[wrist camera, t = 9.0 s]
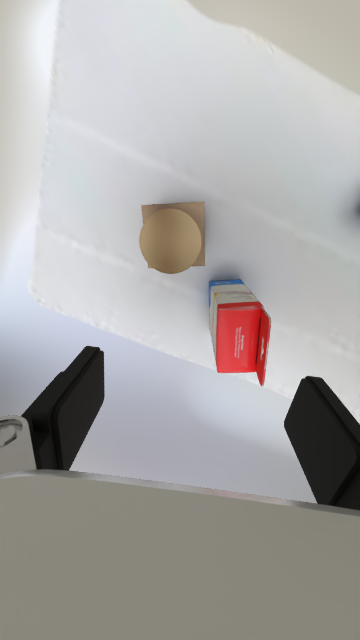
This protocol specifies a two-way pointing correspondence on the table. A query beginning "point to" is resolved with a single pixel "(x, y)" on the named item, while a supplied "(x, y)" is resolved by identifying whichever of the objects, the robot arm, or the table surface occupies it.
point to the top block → (193, 211)
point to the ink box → (238, 328)
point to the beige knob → (170, 241)
